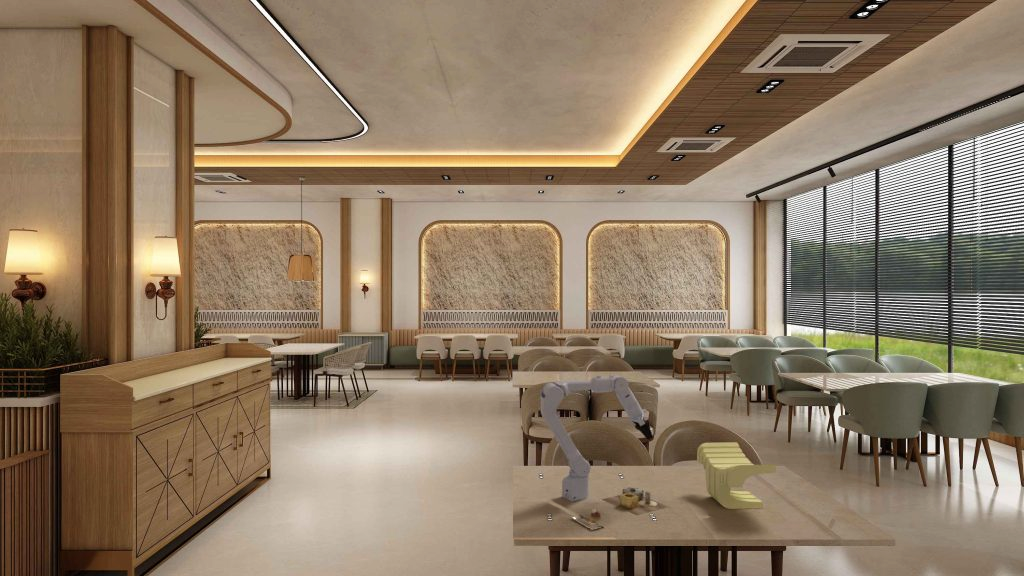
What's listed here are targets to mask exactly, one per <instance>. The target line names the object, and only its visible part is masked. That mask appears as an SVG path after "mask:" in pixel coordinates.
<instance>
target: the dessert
mask: <svg viewBox="0 0 1024 576" xmlns="http://www.w3.org/2000/svg"><path fill="white" fill-rule="evenodd" d="M569 517H570V519H572V520H574V521H576V522H577V523H579V524H581V525H583V526H584V527H586V528H588V529H589V528H590V530H591V531H595V530H599V529H603V528H602V527H603V526H598V527H595V528H591V527H590V526H587V525H586V524H584V523H583V522H581V521H579V520H578V519H576V518H580V519H582V518H581V517H585V516H583V515H582V514H578V515H574V516H569ZM601 520H602V516H601V513H600V511H599V510H597V509H596V508H593V509H592V510H591V512H590V515H589V519H588V523H589V522H591V523H597V522H599V521H601ZM591 523H590V524H591ZM598 528H599V529H598ZM594 529H595V530H594Z"/></svg>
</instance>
